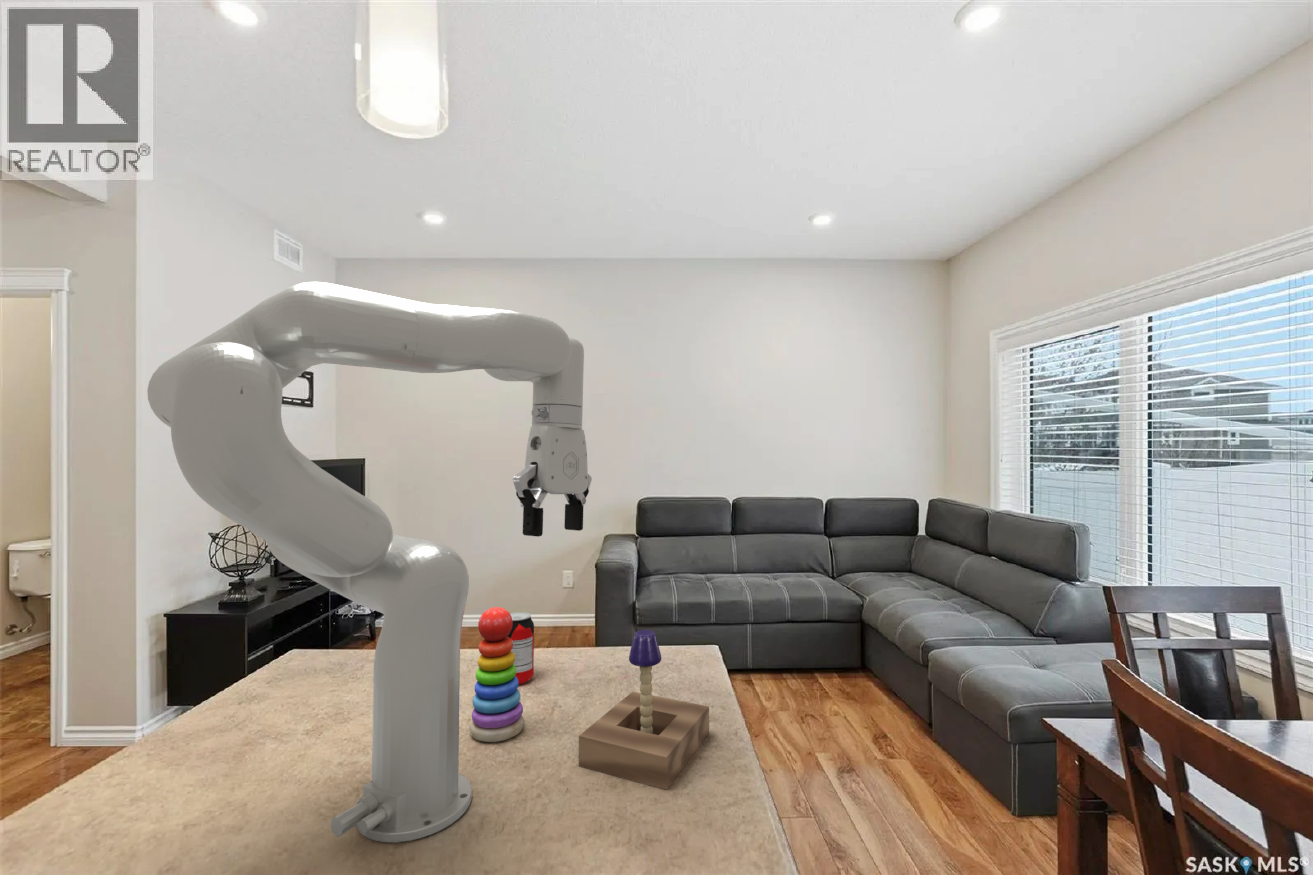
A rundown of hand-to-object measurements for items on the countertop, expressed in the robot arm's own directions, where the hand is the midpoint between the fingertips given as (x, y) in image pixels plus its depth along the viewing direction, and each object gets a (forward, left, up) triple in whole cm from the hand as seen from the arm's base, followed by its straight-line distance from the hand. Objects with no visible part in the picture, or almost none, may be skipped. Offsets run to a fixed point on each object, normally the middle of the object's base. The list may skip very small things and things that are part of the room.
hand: (554, 532), depth 85 cm
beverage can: (+15, +19, -31) cm, 39 cm away
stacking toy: (-2, +9, -31) cm, 32 cm away
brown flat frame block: (+3, -14, -30) cm, 34 cm away
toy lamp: (+3, -14, -31) cm, 34 cm away
